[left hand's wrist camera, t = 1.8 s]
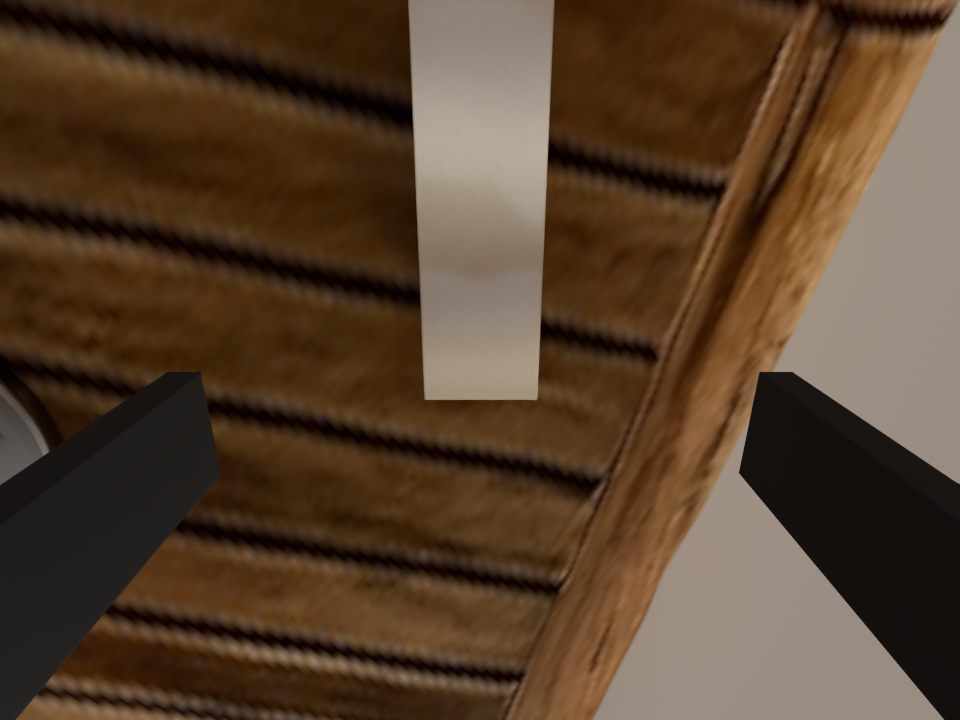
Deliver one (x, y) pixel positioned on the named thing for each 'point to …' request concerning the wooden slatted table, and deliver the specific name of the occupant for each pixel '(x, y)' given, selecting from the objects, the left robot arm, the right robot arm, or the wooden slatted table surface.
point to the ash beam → (481, 191)
